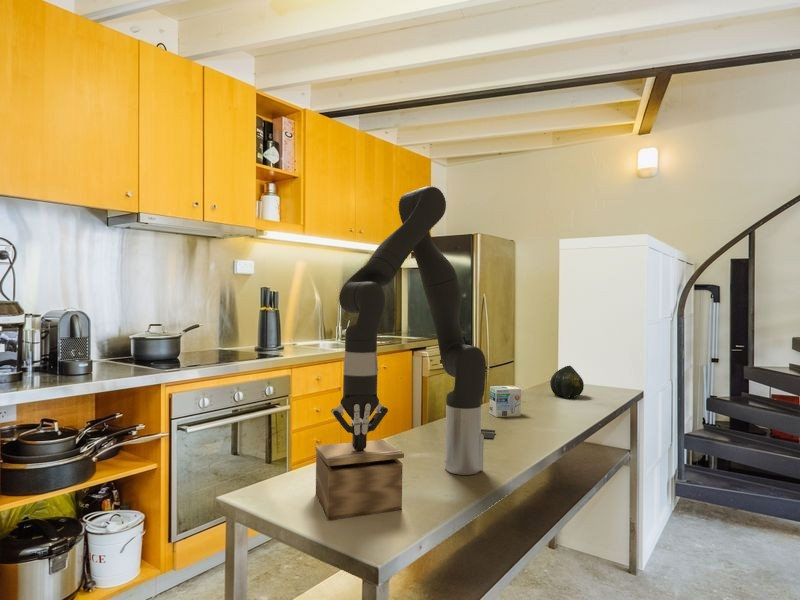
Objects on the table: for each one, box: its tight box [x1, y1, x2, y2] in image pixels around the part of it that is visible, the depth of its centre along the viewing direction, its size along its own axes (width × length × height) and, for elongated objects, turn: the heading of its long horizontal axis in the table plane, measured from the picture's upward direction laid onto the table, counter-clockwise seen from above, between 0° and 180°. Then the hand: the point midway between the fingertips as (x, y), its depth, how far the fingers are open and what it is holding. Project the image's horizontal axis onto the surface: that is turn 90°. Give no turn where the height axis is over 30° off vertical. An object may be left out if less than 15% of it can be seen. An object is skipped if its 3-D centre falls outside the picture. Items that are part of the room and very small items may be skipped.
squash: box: [549, 365, 585, 399], centre depth 229 cm, size 14×15×15 cm
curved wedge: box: [481, 428, 496, 440], centre depth 164 cm, size 8×14×2 cm, turn 75°
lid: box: [315, 439, 405, 466], centre depth 110 cm, size 16×14×1 cm
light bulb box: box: [488, 385, 522, 418], centre depth 192 cm, size 11×7×11 cm, turn 104°
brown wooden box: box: [315, 450, 403, 522], centre depth 110 cm, size 16×14×10 cm
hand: (359, 450), depth 109 cm, fingers closed
